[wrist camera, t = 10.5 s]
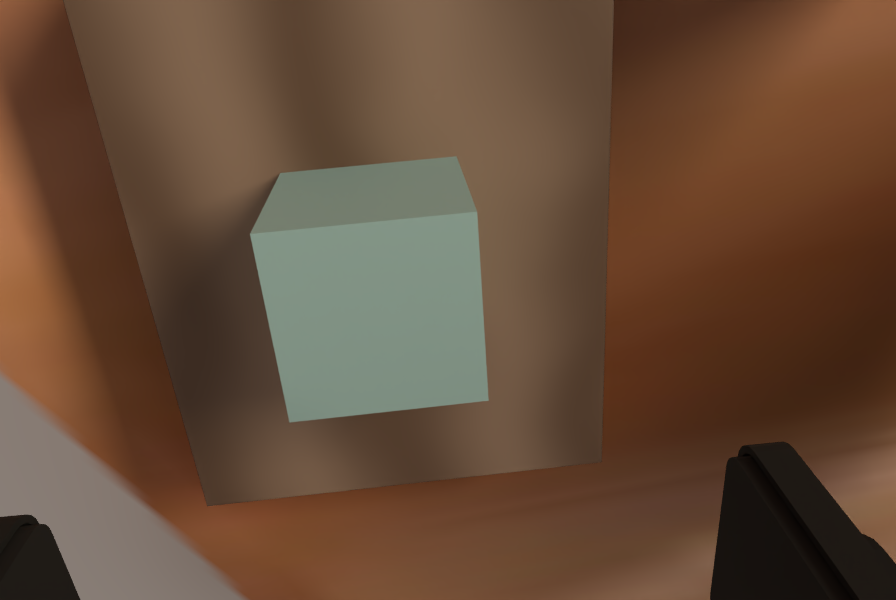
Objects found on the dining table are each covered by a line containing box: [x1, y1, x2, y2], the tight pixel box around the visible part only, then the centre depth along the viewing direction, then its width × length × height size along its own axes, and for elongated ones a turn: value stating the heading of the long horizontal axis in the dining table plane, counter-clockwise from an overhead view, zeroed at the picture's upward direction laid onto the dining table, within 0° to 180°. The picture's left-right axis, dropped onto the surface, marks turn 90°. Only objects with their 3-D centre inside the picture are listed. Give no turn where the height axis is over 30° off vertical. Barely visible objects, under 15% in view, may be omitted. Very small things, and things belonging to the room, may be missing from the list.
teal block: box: [250, 156, 489, 422], centre depth 19 cm, size 5×5×5 cm
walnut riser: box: [63, 0, 614, 506], centre depth 23 cm, size 14×18×5 cm
